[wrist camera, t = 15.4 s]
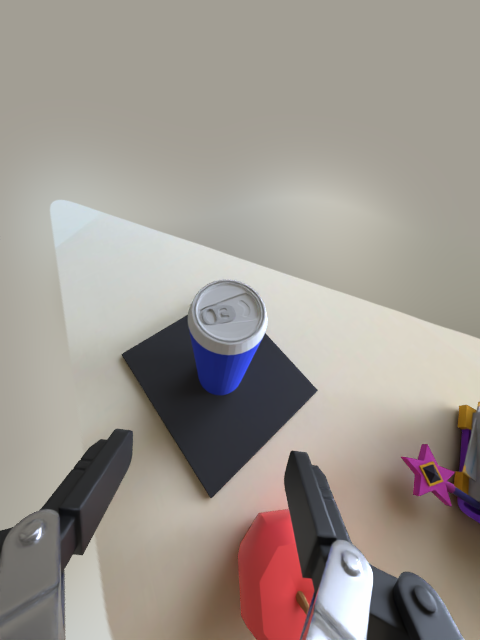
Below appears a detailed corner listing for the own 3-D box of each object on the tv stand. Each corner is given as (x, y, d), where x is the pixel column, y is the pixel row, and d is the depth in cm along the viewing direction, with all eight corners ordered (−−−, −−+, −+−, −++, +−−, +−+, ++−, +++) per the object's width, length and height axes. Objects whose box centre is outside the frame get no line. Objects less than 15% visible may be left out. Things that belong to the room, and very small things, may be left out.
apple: (217, 598, 18) (222, 696, 11) (246, 485, 22) (262, 505, 15) (310, 637, 18) (374, 762, 11) (322, 514, 22) (375, 549, 15)
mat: (211, 497, 21) (210, 498, 21) (123, 355, 27) (121, 354, 26) (315, 391, 28) (318, 390, 27) (226, 293, 33) (227, 291, 33)
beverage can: (233, 348, 28) (253, 269, 15) (247, 388, 26) (284, 335, 13) (193, 360, 27) (177, 284, 14) (204, 402, 25) (198, 360, 12)
